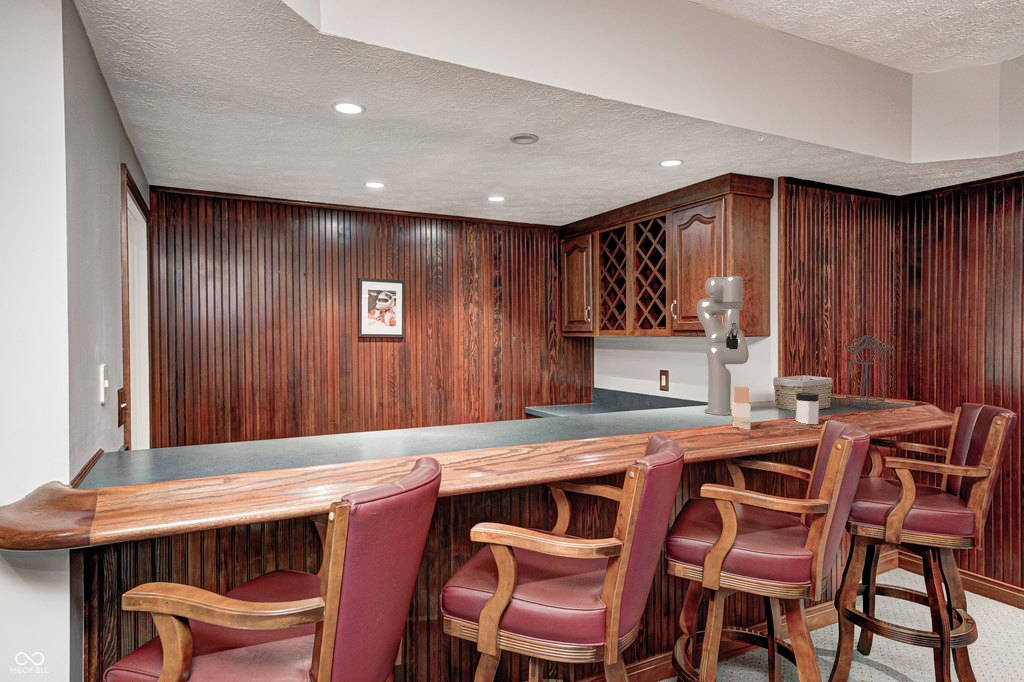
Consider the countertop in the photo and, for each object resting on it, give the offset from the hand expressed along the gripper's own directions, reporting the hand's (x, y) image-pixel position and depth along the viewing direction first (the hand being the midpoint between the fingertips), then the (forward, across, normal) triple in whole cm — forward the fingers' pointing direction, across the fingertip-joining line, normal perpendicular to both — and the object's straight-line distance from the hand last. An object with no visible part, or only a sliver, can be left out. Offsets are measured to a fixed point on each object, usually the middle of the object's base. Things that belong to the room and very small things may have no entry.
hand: (731, 348), depth 236 cm
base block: (+30, +14, +2) cm, 33 cm away
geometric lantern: (+31, -55, +68) cm, 93 cm away
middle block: (+25, +14, +2) cm, 29 cm away
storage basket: (+31, -48, +38) cm, 69 cm away
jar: (+31, -5, +30) cm, 43 cm away
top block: (+20, +14, +2) cm, 25 cm away
